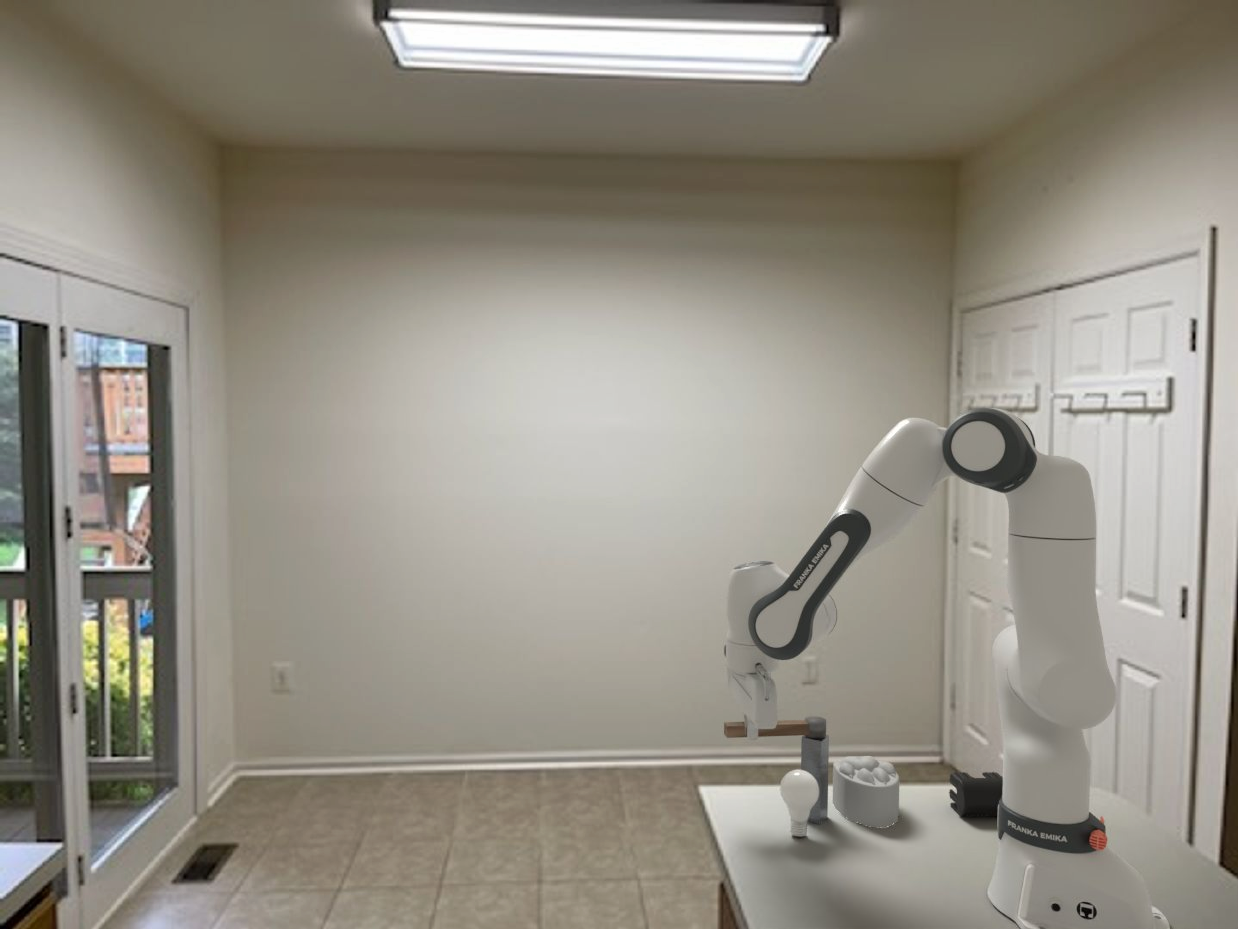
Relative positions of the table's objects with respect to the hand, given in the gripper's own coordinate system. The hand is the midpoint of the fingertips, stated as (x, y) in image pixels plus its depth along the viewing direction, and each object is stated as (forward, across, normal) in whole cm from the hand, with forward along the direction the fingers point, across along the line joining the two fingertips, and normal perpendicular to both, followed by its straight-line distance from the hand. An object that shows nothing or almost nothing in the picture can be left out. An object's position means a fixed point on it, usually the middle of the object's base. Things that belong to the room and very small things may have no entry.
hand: (751, 738), depth 144 cm
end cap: (+16, +2, -42) cm, 45 cm away
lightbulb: (+15, -4, -7) cm, 18 cm away
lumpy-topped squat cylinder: (+16, +5, -22) cm, 28 cm away
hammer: (0, +2, -5) cm, 5 cm away
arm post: (+15, +3, -12) cm, 19 cm away
